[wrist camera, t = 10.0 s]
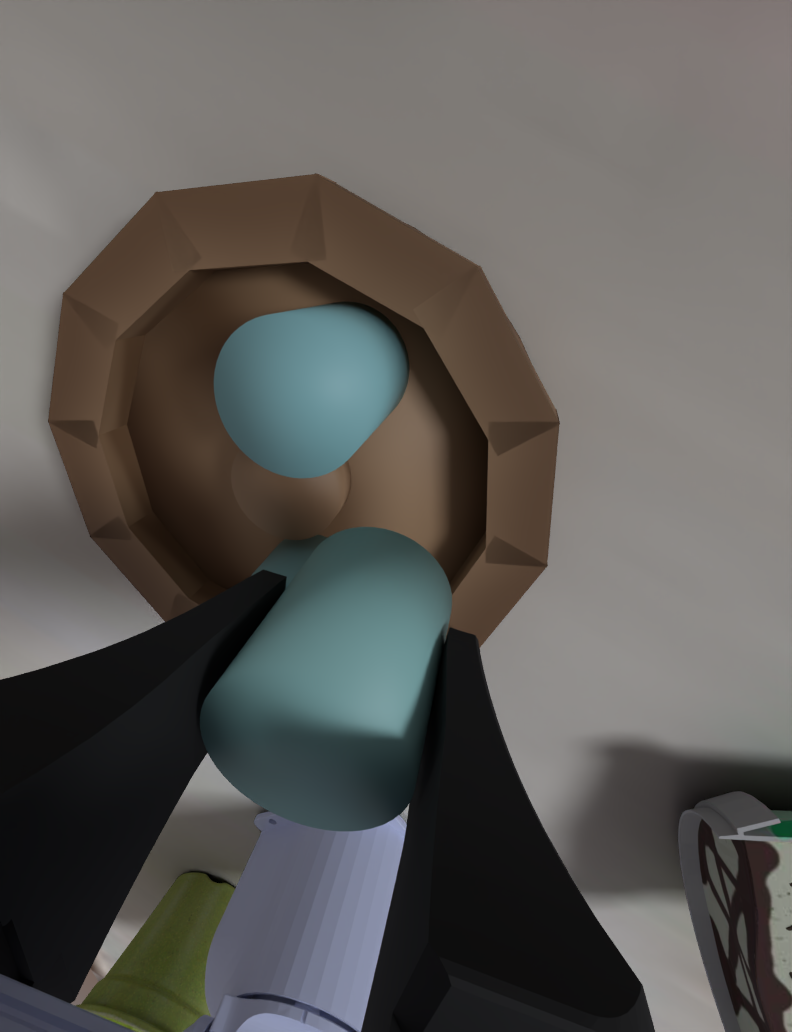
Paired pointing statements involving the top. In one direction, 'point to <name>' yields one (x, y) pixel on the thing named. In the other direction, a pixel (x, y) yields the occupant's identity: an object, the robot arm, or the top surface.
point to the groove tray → (188, 454)
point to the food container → (742, 907)
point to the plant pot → (165, 961)
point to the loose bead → (336, 685)
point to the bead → (309, 385)
